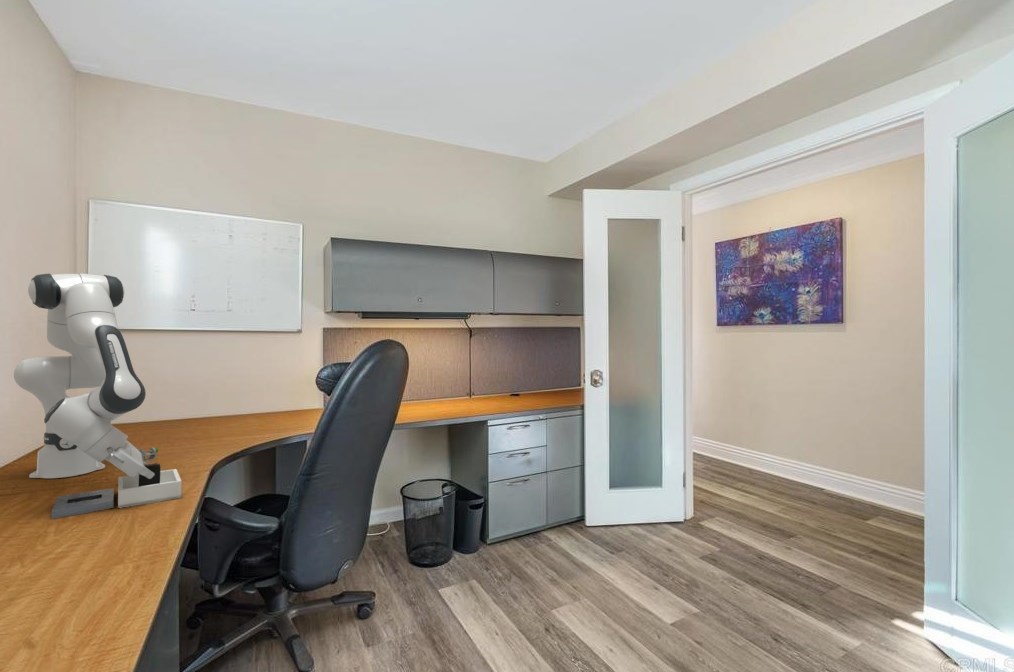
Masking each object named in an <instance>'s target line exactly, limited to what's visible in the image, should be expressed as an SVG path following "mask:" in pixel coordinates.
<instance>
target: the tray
mask: <svg viewBox="0 0 1014 672" xmlns="http://www.w3.org/2000/svg"><path fill="white" fill-rule="evenodd" d="M117 477H118V478H117V481H118V483H117V484H118V487H117V488H118V489H117V493H118V494H117V509H118V508H120V509H123V508H122V507H126V508H130V507H129V506H131V507H137V506H142V505H147V504H149V505H150V504H155V503H159V502H166V501H172V500H177V499H182V478H181V476H180V474H179V472H178V470H177V468H174V469H166V470H160V483H159V484H153V485H146V486H140V487H138V486H139V474H137V475H136V476H134V477H131V476H129V475H124V476H123V475H122V476H117ZM136 505H137V506H136Z"/></svg>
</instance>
